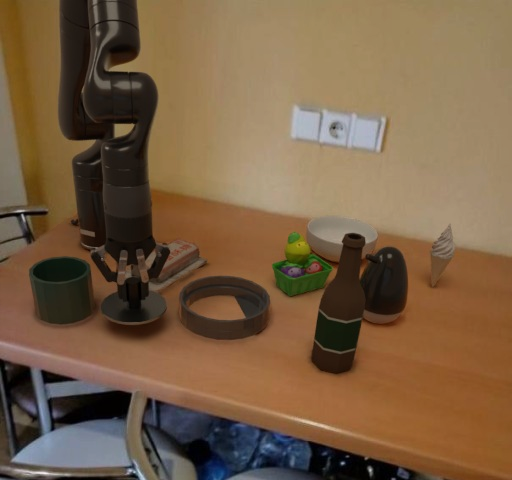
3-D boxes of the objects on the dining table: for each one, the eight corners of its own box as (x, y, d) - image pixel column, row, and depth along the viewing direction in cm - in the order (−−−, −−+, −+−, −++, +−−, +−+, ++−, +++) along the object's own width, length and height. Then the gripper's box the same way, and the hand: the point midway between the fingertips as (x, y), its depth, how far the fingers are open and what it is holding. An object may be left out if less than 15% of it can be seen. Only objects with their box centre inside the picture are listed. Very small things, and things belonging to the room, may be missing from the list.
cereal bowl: (366, 278, 127) (372, 249, 123) (295, 263, 130) (298, 235, 126) (377, 249, 140) (383, 222, 136) (313, 236, 144) (316, 209, 140)
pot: (36, 300, 110) (29, 258, 105) (92, 295, 113) (88, 254, 108) (36, 329, 101) (28, 286, 96) (97, 323, 104) (92, 280, 99)
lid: (98, 296, 104) (95, 267, 101) (161, 291, 107) (160, 262, 104) (104, 331, 95) (101, 300, 92) (172, 324, 98) (171, 294, 95)
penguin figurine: (341, 307, 115) (353, 239, 107) (384, 300, 119) (399, 233, 110) (366, 334, 107) (381, 262, 99) (412, 326, 111) (430, 256, 102)
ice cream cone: (445, 284, 127) (464, 222, 118) (442, 294, 123) (460, 230, 114) (423, 278, 128) (440, 216, 120) (419, 288, 124) (435, 224, 116)
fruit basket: (288, 301, 116) (293, 251, 110) (265, 282, 122) (269, 233, 116) (331, 289, 121) (339, 241, 115) (307, 271, 127) (313, 225, 121)
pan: (172, 299, 113) (171, 279, 111) (253, 291, 118) (254, 272, 116) (189, 347, 100) (189, 326, 97) (280, 336, 105) (282, 315, 102)
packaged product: (172, 232, 128) (207, 244, 124) (172, 252, 131) (207, 264, 127) (117, 260, 115) (155, 275, 111) (119, 281, 118) (156, 296, 114)
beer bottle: (307, 348, 102) (325, 225, 89) (349, 348, 103) (373, 226, 90) (314, 374, 96) (334, 246, 82) (358, 375, 97) (386, 247, 83)
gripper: (167, 196, 95) (168, 285, 105) (81, 199, 91) (91, 292, 101) (175, 213, 89) (176, 306, 99) (84, 218, 85) (94, 314, 95)
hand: (133, 298), depth 100 cm, fingers closed on lid, 2 cm apart
